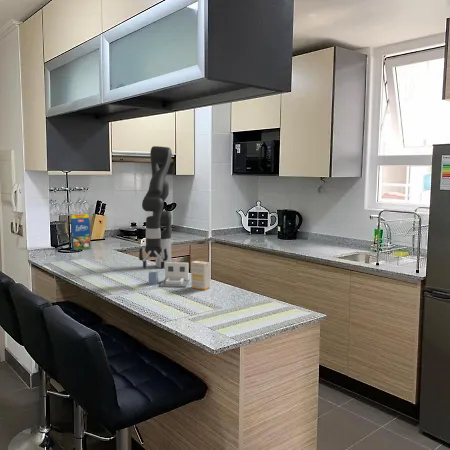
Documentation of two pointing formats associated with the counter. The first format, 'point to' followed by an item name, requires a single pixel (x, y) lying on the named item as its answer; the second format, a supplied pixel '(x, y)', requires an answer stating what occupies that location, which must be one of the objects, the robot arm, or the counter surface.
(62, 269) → the counter surface
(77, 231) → the blue food package
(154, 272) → the block
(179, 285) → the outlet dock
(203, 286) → the supplement box
